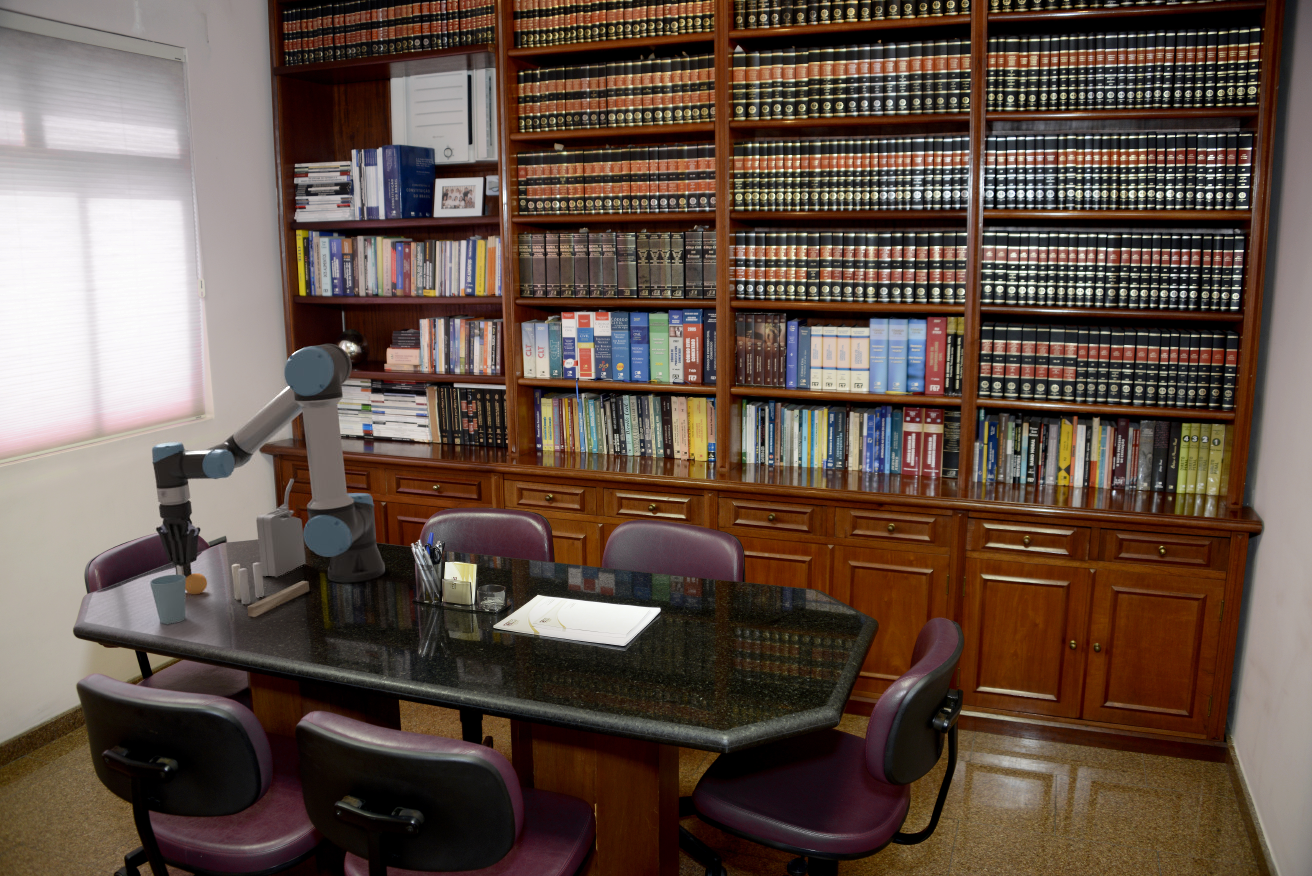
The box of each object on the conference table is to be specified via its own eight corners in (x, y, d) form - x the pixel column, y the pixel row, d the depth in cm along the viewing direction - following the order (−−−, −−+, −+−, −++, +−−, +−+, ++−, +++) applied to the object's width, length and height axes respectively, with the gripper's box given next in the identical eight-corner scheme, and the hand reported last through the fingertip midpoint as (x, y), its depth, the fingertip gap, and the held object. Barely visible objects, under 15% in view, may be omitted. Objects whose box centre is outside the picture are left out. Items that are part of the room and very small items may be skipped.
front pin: (245, 597, 242) (241, 564, 241) (239, 600, 241) (235, 566, 239) (238, 596, 243) (235, 563, 241) (233, 599, 241) (229, 566, 240)
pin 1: (252, 602, 239) (248, 568, 237) (246, 604, 237) (242, 571, 235) (245, 601, 239) (242, 568, 238) (240, 604, 237) (236, 570, 236)
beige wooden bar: (309, 590, 247) (308, 581, 246) (255, 616, 228) (254, 607, 228) (303, 590, 247) (302, 580, 247) (248, 616, 229) (247, 606, 228)
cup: (189, 622, 225) (184, 581, 223) (153, 628, 222) (148, 586, 220) (191, 612, 232) (186, 572, 230) (156, 617, 229) (151, 577, 227)
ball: (212, 591, 248) (210, 571, 247) (196, 598, 243) (194, 577, 242) (196, 589, 250) (194, 569, 249) (180, 596, 245) (178, 576, 244)
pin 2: (265, 595, 243) (262, 562, 242) (260, 598, 241) (257, 565, 240) (259, 595, 244) (256, 562, 242) (254, 597, 242) (250, 564, 241)
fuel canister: (297, 560, 274) (289, 477, 269) (311, 561, 272) (304, 478, 268) (261, 576, 259) (252, 489, 255) (275, 578, 258) (267, 490, 254)
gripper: (143, 503, 242) (155, 590, 246) (182, 506, 238) (193, 594, 242) (167, 497, 249) (178, 581, 253) (205, 499, 245) (215, 584, 249)
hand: (185, 587), depth 247 cm, fingers closed
